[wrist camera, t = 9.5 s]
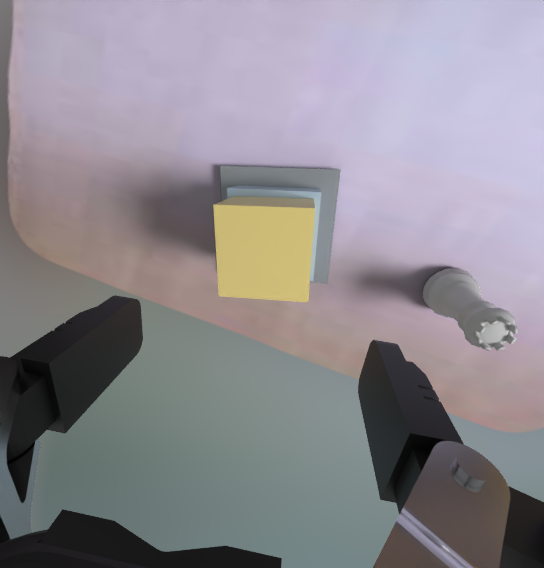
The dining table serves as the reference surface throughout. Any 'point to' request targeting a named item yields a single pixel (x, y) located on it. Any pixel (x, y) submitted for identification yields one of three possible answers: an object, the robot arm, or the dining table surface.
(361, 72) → the dining table surface
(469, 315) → the rook chess piece
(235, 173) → the baseplate
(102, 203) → the dining table surface
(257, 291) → the mustard block
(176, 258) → the dining table surface
